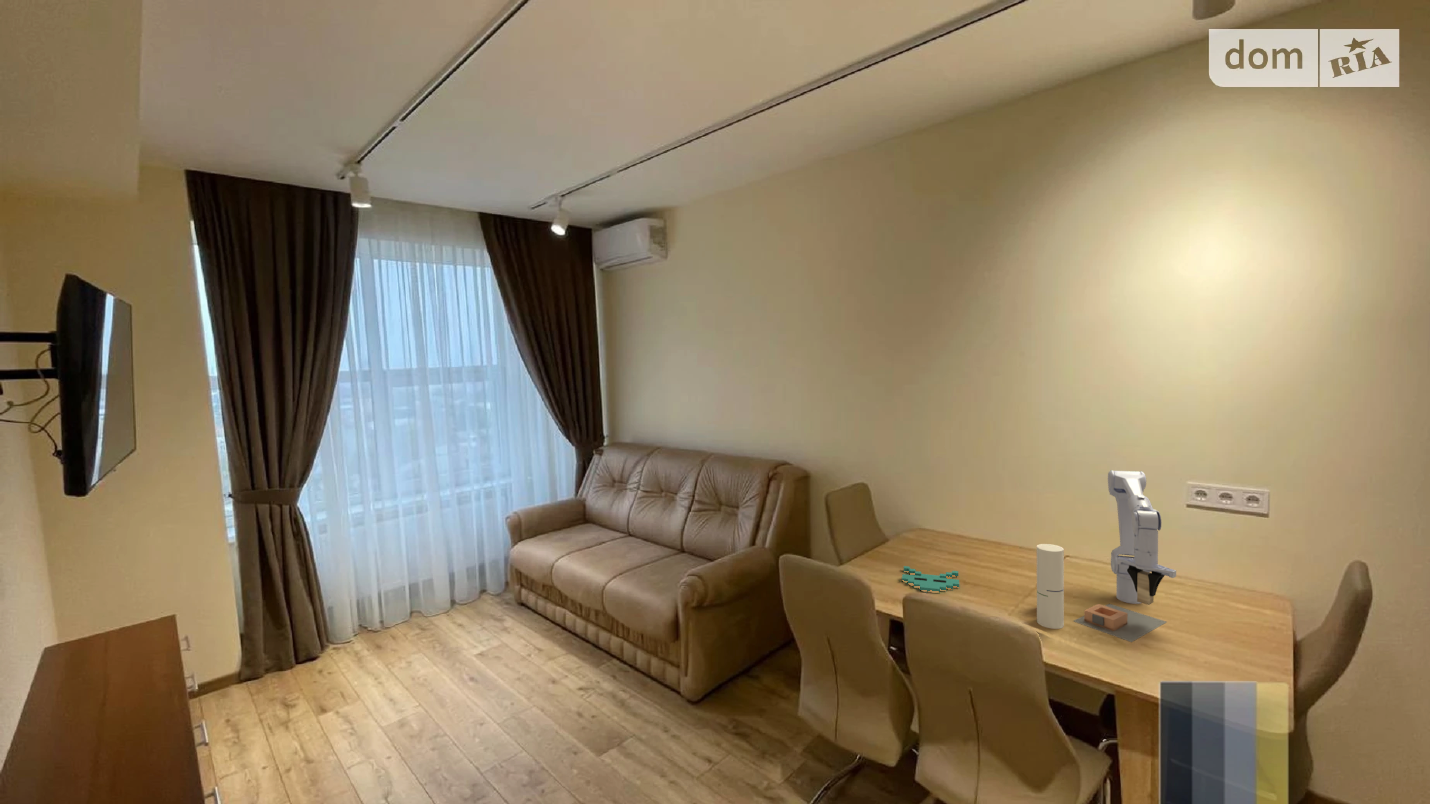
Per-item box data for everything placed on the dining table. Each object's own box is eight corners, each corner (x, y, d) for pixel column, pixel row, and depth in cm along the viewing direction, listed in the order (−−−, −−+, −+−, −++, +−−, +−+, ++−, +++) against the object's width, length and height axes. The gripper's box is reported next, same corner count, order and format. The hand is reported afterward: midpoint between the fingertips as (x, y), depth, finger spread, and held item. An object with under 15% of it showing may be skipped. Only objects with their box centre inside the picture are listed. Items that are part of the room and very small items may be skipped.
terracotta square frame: (1099, 613, 178) (1099, 603, 178) (1128, 623, 171) (1128, 612, 171) (1083, 621, 173) (1083, 610, 173) (1112, 631, 166) (1112, 620, 166)
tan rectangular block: (1141, 599, 172) (1142, 570, 171) (1153, 602, 169) (1153, 573, 169) (1137, 601, 170) (1137, 572, 170) (1148, 604, 168) (1149, 575, 167)
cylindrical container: (1063, 633, 168) (1063, 552, 167) (1036, 628, 172) (1036, 549, 170) (1063, 624, 174) (1063, 545, 173) (1037, 619, 178) (1037, 542, 176)
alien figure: (904, 571, 224) (900, 590, 205) (903, 566, 224) (900, 585, 205) (958, 576, 216) (959, 597, 198) (958, 571, 216) (959, 591, 198)
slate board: (1109, 606, 185) (1109, 603, 185) (1167, 625, 171) (1167, 621, 171) (1072, 624, 174) (1072, 621, 174) (1131, 645, 160) (1131, 642, 160)
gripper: (1112, 546, 173) (1112, 588, 174) (1168, 559, 161) (1168, 605, 161) (1123, 541, 177) (1123, 583, 178) (1179, 554, 164) (1179, 599, 165)
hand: (1145, 593), depth 170 cm, fingers closed on tan rectangular block, 3 cm apart
